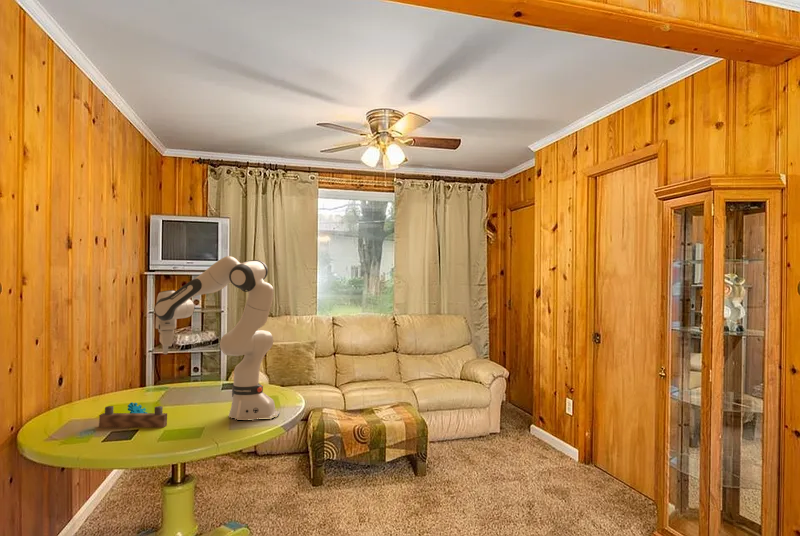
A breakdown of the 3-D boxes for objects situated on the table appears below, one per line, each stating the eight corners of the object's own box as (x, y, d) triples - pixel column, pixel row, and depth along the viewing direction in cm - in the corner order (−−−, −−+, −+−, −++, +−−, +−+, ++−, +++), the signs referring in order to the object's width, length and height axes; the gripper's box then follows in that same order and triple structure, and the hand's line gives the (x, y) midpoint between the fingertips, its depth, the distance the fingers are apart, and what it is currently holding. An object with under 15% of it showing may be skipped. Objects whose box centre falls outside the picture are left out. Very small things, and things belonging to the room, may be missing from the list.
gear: (139, 420, 197) (125, 402, 199) (128, 430, 197) (114, 412, 198) (154, 416, 208) (141, 399, 210) (144, 425, 208) (130, 408, 209)
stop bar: (166, 425, 197) (167, 406, 197) (163, 427, 194) (164, 408, 194) (103, 425, 195) (103, 406, 195) (98, 427, 192) (99, 408, 192)
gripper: (156, 323, 227) (155, 351, 226) (160, 326, 209) (159, 357, 209) (171, 322, 230) (170, 350, 229) (175, 326, 213) (174, 356, 212)
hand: (165, 353), depth 219 cm, fingers closed
